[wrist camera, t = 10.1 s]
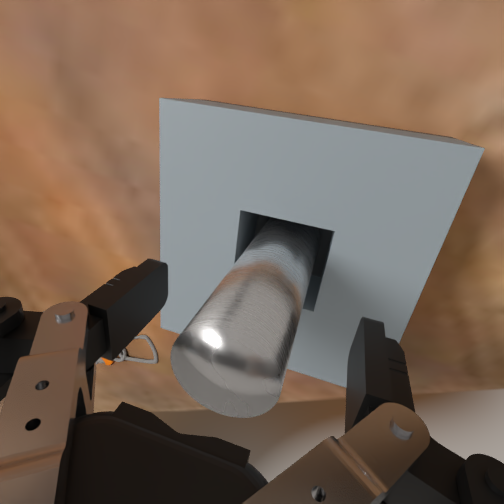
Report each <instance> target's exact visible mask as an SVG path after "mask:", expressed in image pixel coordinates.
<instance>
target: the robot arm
mask: <svg viewBox="0 0 504 504" xmlns="http://www.w3.org/2000/svg"><path fill="white" fill-rule="evenodd" d="M167 298H168V265H167V263H165V262H161V261H157V260H153V259H147V260H146V261H144V262H143V263H142V264H140V265H139V266H138V267H132V268H129V269H126V270H124V271H122V272H120V273H119V274H118V275H116V276H115V277H114V278H113V279H111V280H109V281H108V282H107V283H106V284H104V285H102V286H101V287H100V288H98V289H97V290H96V291H94V292H93V293H91V294H90V295H89V296H87V297H86V298H85V299H83V300H82V301H80V302H63V303H59V304H56V305H53V306H51V307H50V308H48V309H47V310H45V311H44V312H33V311H23V308H22V304H21V301H20V300H18V299H16V298H13V297H0V401H1V400H2V399H3V398H5V397H6V398H5V401H4V404H3V407H2V410H1V413H0V504H504V464H503V463H502V462H500V461H498V460H496V459H495V458H492V457H490V456H487V455H483V454H473V455H471V456H469V457H468V458H467V459H466V460H465V459H463V458H462V457H460V456H458V455H457V454H455V453H453V452H452V451H450V450H448V449H447V448H445V447H444V446H442V445H441V444H439V443H438V442H436V441H435V440H434V439H433V438H431V436H430V434H429V431H428V428H427V426H426V425H425V423H424V422H423V420H422V419H421V418H420V417H419V416H418V415H417V414H416V413H415V409H414V404H413V398H412V393H411V387H410V382H409V376H408V371H407V366H406V360H405V355H404V351H403V350H402V348H401V347H400V345H399V344H398V342H397V341H396V340H394V339H391V338H387V337H386V336H385V328H384V323H383V322H381V321H377V320H374V319H370V318H366V317H362V318H361V320H360V322H359V325H358V328H357V331H356V334H355V337H354V339H353V342H352V345H351V348H350V352H349V356H348V364H347V389H346V416H345V434H344V435H343V436H341V437H340V438H339V439H336V438H335V437H334V436H331V437H328V438H327V439H325V440H323V441H322V442H321V443H320V444H318V445H317V446H316V447H315V448H313V449H312V450H311V451H309V452H308V453H307V454H305V455H304V456H303V457H301V458H300V459H299V460H298V461H296V462H295V463H294V464H292V465H291V466H290V467H289V468H287V469H286V470H285V471H283V472H282V473H281V474H279V475H278V476H277V477H276V478H274V479H273V480H272V481H270V482H269V483H268V482H267V480H266V479H265V478H264V477H263V476H262V474H261V473H260V472H259V471H258V470H257V469H256V468H254V467H253V466H252V465H251V464H249V463H248V460H249V455H250V450H248V449H245V448H243V447H240V446H237V445H234V444H232V443H230V442H227V441H224V440H222V439H219V438H215V437H206V436H197V435H187V434H180V433H178V432H176V431H174V430H173V429H172V428H171V427H169V426H168V425H167V424H165V423H164V422H163V421H162V420H160V419H159V418H158V417H156V416H155V415H154V414H153V413H151V412H148V411H146V410H143V409H140V408H138V407H135V406H133V405H130V404H127V403H125V402H122V403H121V404H120V405H119V406H118V408H117V409H116V410H115V412H112V411H109V412H97V413H94V395H95V380H96V361H97V360H98V359H99V358H100V357H102V358H105V359H108V360H110V361H113V360H114V359H115V358H116V357H117V356H118V355H119V354H120V353H121V352H122V351H123V349H124V348H125V347H126V346H127V345H128V344H129V343H130V342H131V341H132V340H133V339H134V338H135V337H136V336H137V335H138V333H139V332H140V331H141V330H142V329H143V328H144V327H145V326H146V325H147V324H148V323H149V322H150V321H151V320H152V319H153V318H154V316H155V315H156V314H157V313H158V312H159V311H160V310H161V309H162V308H163V307H164V305H165V303H166V301H167Z"/></svg>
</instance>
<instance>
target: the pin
mask: <svg viewBox="0 0 504 504" xmlns="http://www.w3.org/2000/svg"><path fill="white" fill-rule="evenodd" d="M319 243H320V231H319V228H318V227H314V226H309V225H305V224H300V223H296V222H291V221H287V220H282V219H278V218H273V217H270V218H269V220H268V221H267V222H266V224H265V225H264V226H263V228H262V229H261V230H260V231H259V233H258V234H257V235H256V237H255V238H254V239H253V241H252V242H251V243H250V244H249V246H248V247H247V248H246V250H245V251H244V252H243V254H242V255H241V256H240V257H239V259H238V260H237V261H236V263H235V264H234V265H233V267H232V268H231V269H230V270H229V272H228V273H227V274H226V276H225V277H224V278H223V280H222V281H221V282H220V283H219V285H218V286H217V287H216V289H215V290H214V291H213V293H212V294H211V295H210V296H209V298H208V299H207V300H206V302H205V303H204V304H203V306H202V307H201V308H200V309H199V311H198V312H197V313H196V315H195V316H194V317H193V319H192V320H191V321H190V322H189V324H188V325H187V326H186V328H185V329H184V330H183V332H182V333H181V334H180V335H179V337H178V338H177V339H176V341H175V342H174V344H173V347H172V350H171V365H172V369H173V372H174V374H175V376H176V378H177V380H178V382H179V383H180V385H181V386H182V387H183V389H184V390H185V391H186V392H187V393H188V394H189V395H190V396H191V397H192V398H193V399H194V400H196V401H197V402H198V403H200V404H201V405H203V406H205V407H206V408H208V409H210V410H212V411H215V412H217V413H220V414H223V415H226V416H231V417H238V418H248V417H255V416H259V415H261V414H264V413H265V412H267V411H269V410H270V409H271V408H272V407H273V406H274V405H275V404H276V403H277V401H278V399H279V396H280V393H281V389H282V386H283V382H284V378H285V374H286V370H287V366H288V362H289V359H290V355H291V351H292V347H293V343H294V339H295V335H296V332H297V328H298V324H299V320H300V316H301V312H302V308H303V305H304V301H305V297H306V293H307V289H308V285H309V281H310V278H311V274H312V270H313V266H314V262H315V258H316V254H317V251H318V247H319Z"/></svg>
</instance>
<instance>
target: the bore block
mask: <svg viewBox="0 0 504 504" xmlns="http://www.w3.org/2000/svg"><path fill="white" fill-rule="evenodd" d="M159 105H160V261H161V262H165V263H167V265H168V298H167V301H166V303H165V305H164V307H163V308H162V309H161V328H163V329H166V330H169V331H172V332H176V333H179V334H181V333H182V332H183V330H184V329H185V328H186V326H187V325H188V324H189V322H190V321H191V320H192V319H193V317H194V316H195V315H196V313H197V312H198V311H199V309H200V308H201V307H202V306H203V304H204V303H205V302H206V300H207V299H208V298H209V296H210V295H211V294H212V293H213V291H214V290H215V289H216V287H217V286H218V285H219V283H220V282H221V281H222V280H223V278H224V277H225V276H226V274H227V273H228V272H229V270H230V269H231V268H232V267H233V265H234V264H235V263H236V261H237V260H238V259H239V257H240V256H241V255H242V254H243V252H244V251H245V250H246V248H247V247H248V246H249V244H250V243H251V242H252V241H253V239H254V238H255V237H256V235H257V234H258V233H259V231H260V230H261V229H262V228H263V226H264V225H265V224H266V222H267V221H268V220H269V218H270V217H273V218H278V219H282V220H287V221H291V222H296V223H300V224H305V225H309V226H314V227H318V228H319V231H320V243H319V247H318V251H317V254H316V258H315V262H314V266H313V270H312V274H311V278H310V281H309V285H308V289H307V293H306V297H305V301H304V305H303V308H302V312H301V316H300V320H299V324H298V328H297V332H296V335H295V339H294V343H293V347H292V351H291V355H290V359H289V362H288V366H287V369H290V370H293V371H296V372H299V373H302V374H305V375H309V376H312V377H315V378H318V379H321V380H324V381H327V382H330V383H333V384H336V385H339V386H343V387H346V388H347V364H348V356H349V352H350V348H351V345H352V342H353V339H354V337H355V334H356V331H357V328H358V325H359V322H360V320H361V318H362V317H366V318H370V319H374V320H377V321H381V322H383V323H384V328H385V336H386V337H387V338H391V339H394V340H396V341H397V342H398V344H399V342H400V340H401V337H402V335H403V333H404V331H405V328H406V326H407V324H408V322H409V319H410V317H411V315H412V313H413V310H414V308H415V306H416V303H417V301H418V299H419V297H420V294H421V292H422V290H423V288H424V285H425V283H426V281H427V278H428V276H429V274H430V272H431V269H432V267H433V265H434V263H435V260H436V258H437V256H438V254H439V251H440V249H441V247H442V244H443V242H444V240H445V238H446V235H447V233H448V231H449V229H450V226H451V224H452V222H453V219H454V217H455V215H456V213H457V210H458V208H459V206H460V204H461V201H462V199H463V197H464V194H465V192H466V190H467V188H468V185H469V183H470V181H471V179H472V176H473V174H474V172H475V170H476V167H477V165H478V163H479V160H480V158H481V156H482V154H483V151H484V149H485V148H482V147H479V146H476V145H473V144H470V143H467V142H464V141H461V140H458V139H455V138H452V137H446V136H440V135H433V134H427V133H420V132H413V131H407V130H400V129H394V128H387V127H381V126H374V125H367V124H361V123H354V122H348V121H341V120H334V119H328V118H321V117H315V116H308V115H301V114H295V113H288V112H282V111H275V110H268V109H262V108H255V107H249V106H242V105H236V104H229V103H222V102H216V101H209V100H199V99H175V98H159Z"/></svg>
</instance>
